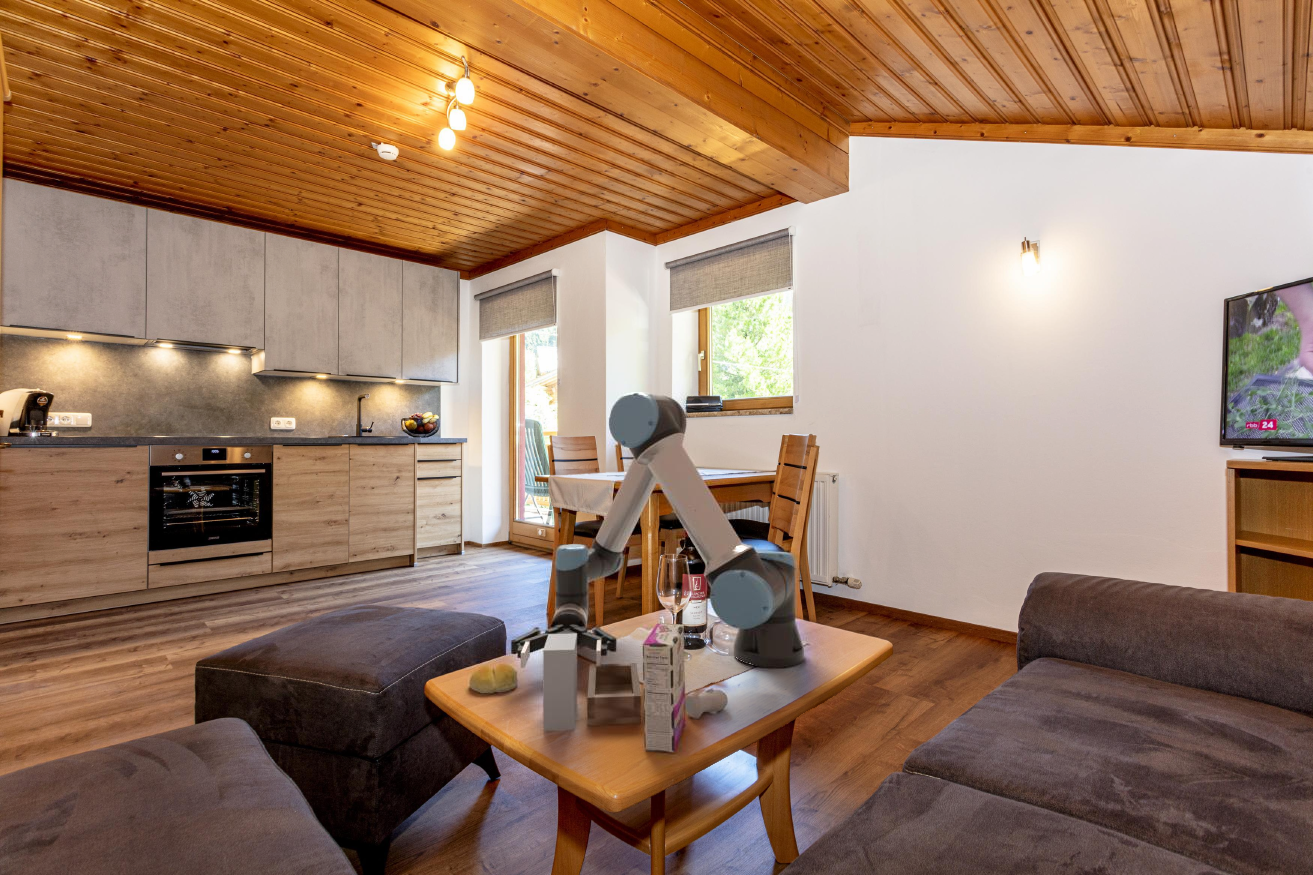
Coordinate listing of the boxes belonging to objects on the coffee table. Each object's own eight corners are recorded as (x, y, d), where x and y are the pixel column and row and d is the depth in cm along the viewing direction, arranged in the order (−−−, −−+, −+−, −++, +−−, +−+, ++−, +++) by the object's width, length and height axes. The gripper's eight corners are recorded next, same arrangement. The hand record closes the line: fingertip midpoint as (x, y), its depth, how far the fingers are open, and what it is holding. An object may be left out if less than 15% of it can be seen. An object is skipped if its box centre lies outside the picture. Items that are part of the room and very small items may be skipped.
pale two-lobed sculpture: (717, 710, 113) (734, 711, 109) (679, 719, 109) (695, 720, 105) (713, 685, 114) (729, 685, 110) (675, 692, 110) (691, 693, 106)
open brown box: (637, 686, 121) (636, 663, 121) (641, 722, 105) (641, 695, 105) (589, 688, 120) (589, 664, 120) (587, 724, 104) (587, 697, 104)
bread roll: (471, 681, 125) (471, 660, 125) (517, 677, 127) (517, 657, 127) (467, 697, 117) (467, 675, 117) (516, 693, 118) (517, 672, 119)
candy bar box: (656, 720, 106) (656, 622, 107) (686, 722, 105) (685, 623, 106) (641, 751, 95) (641, 642, 96) (674, 754, 94) (674, 644, 95)
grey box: (577, 707, 112) (577, 633, 112) (574, 729, 103) (574, 649, 103) (548, 708, 111) (548, 634, 112) (543, 730, 102) (543, 650, 103)
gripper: (627, 642, 137) (629, 678, 115) (510, 645, 135) (490, 681, 114) (626, 607, 137) (629, 636, 115) (510, 609, 135) (490, 640, 114)
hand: (560, 659), depth 114 cm, fingers open, 13 cm apart
